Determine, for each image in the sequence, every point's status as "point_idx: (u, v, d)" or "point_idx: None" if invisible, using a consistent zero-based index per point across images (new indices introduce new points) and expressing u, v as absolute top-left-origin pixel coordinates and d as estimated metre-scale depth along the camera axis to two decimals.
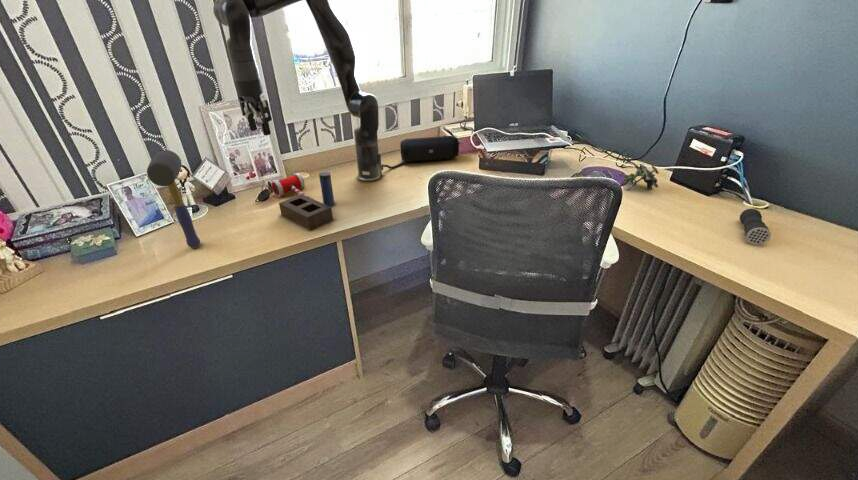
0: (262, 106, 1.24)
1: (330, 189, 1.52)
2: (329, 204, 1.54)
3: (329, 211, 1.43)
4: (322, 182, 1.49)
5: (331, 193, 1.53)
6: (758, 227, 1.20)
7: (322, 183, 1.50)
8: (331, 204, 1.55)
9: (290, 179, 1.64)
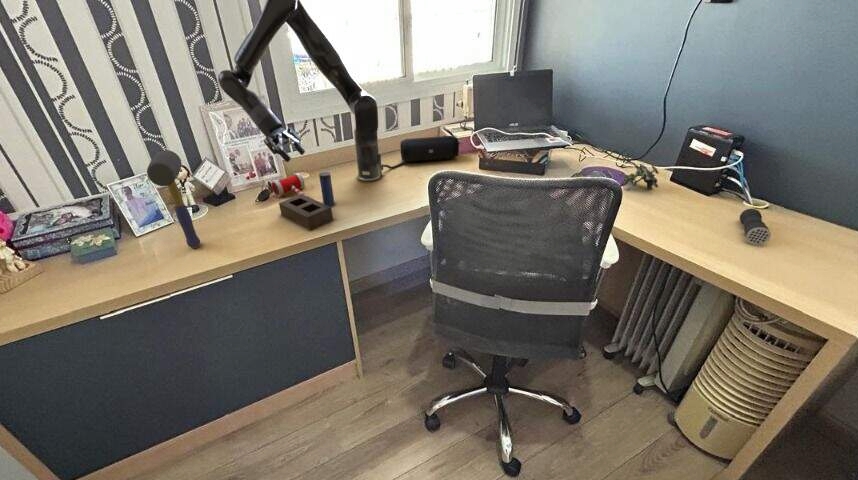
0: (265, 143, 1.45)
1: (330, 189, 1.52)
2: (329, 204, 1.54)
3: (329, 211, 1.43)
4: (322, 182, 1.49)
5: (331, 193, 1.53)
6: (758, 227, 1.20)
7: (322, 183, 1.50)
8: (331, 204, 1.55)
9: (290, 179, 1.64)
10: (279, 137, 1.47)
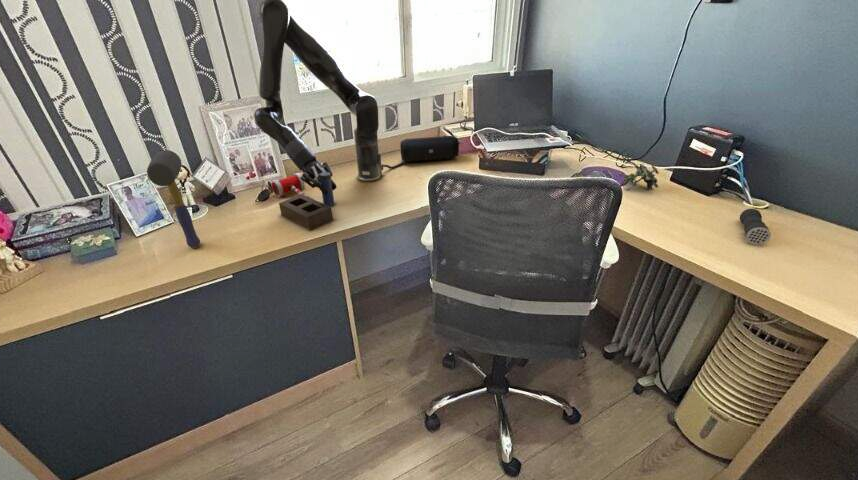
0: (303, 180, 1.47)
1: (330, 189, 1.52)
2: (329, 204, 1.54)
3: (329, 211, 1.43)
4: (322, 182, 1.49)
5: (331, 193, 1.53)
6: (758, 227, 1.20)
7: (322, 183, 1.50)
8: (331, 204, 1.55)
9: (290, 179, 1.64)
10: (314, 171, 1.49)
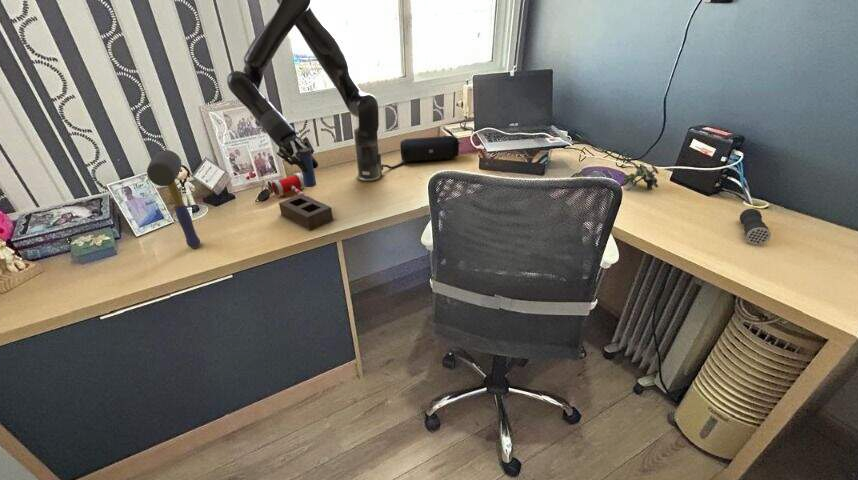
0: (280, 156, 1.32)
1: (311, 167, 1.36)
2: (310, 184, 1.39)
3: (329, 211, 1.43)
4: (302, 159, 1.34)
5: (312, 172, 1.37)
6: (758, 227, 1.20)
7: (302, 160, 1.34)
8: (312, 184, 1.39)
9: (290, 179, 1.64)
10: (293, 146, 1.33)
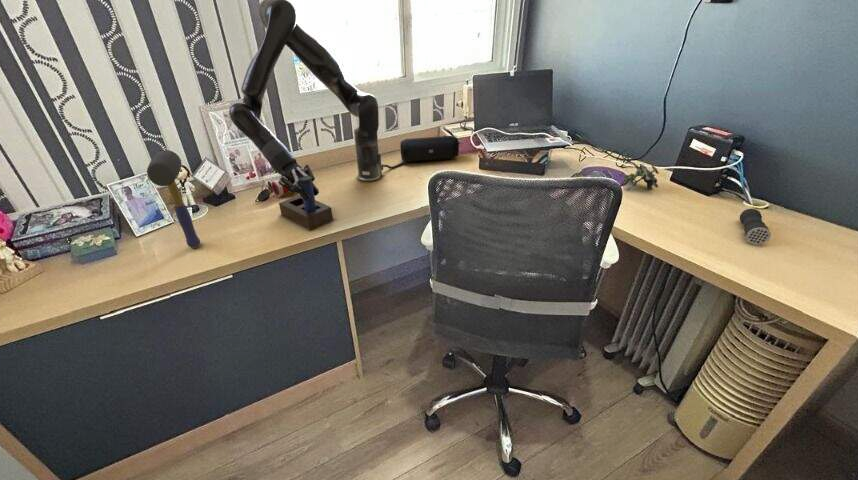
0: (282, 184, 1.35)
1: (312, 194, 1.39)
2: (311, 211, 1.42)
3: (329, 211, 1.43)
4: (303, 187, 1.37)
5: (313, 199, 1.40)
6: (758, 227, 1.20)
7: (303, 188, 1.37)
8: None
9: None
10: (294, 175, 1.36)
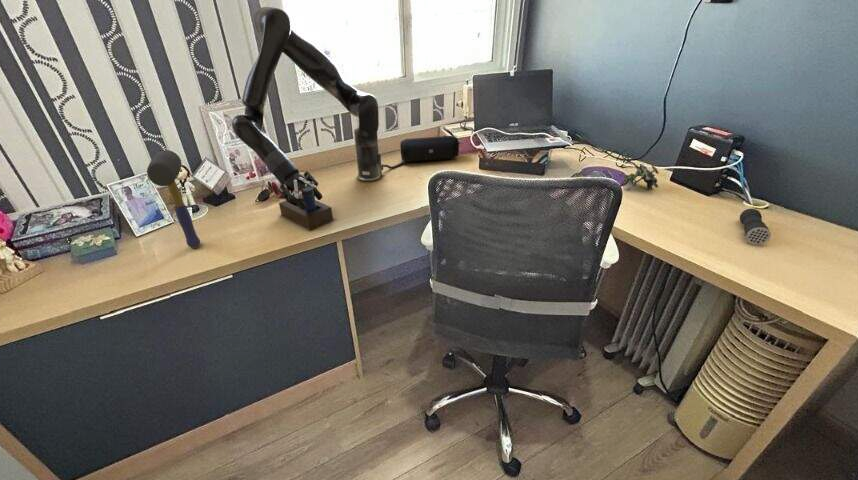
0: (280, 192, 1.36)
1: (313, 205, 1.41)
2: None
3: (329, 211, 1.43)
4: (304, 198, 1.39)
5: (314, 209, 1.42)
6: (758, 227, 1.20)
7: (304, 199, 1.39)
8: None
9: None
10: (294, 184, 1.38)
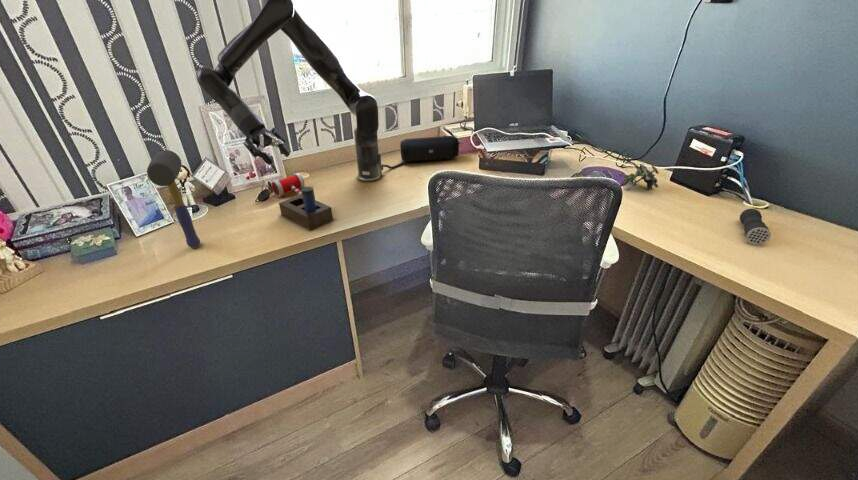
0: (245, 145, 1.35)
1: (313, 205, 1.41)
2: None
3: (329, 211, 1.43)
4: (304, 198, 1.39)
5: (314, 209, 1.42)
6: (758, 227, 1.20)
7: (304, 199, 1.39)
8: None
9: (290, 179, 1.64)
10: (260, 139, 1.37)
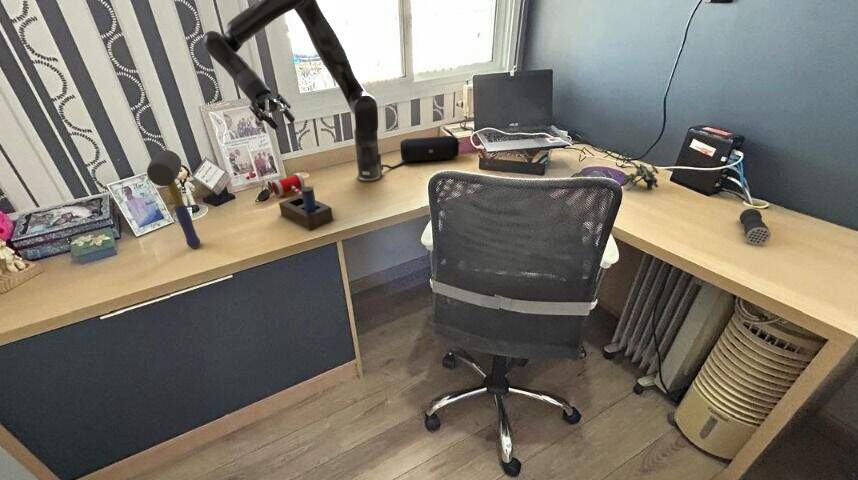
0: (251, 109, 1.37)
1: (313, 205, 1.41)
2: None
3: (329, 211, 1.43)
4: (304, 198, 1.39)
5: (314, 209, 1.42)
6: (758, 227, 1.20)
7: (304, 199, 1.39)
8: None
9: (290, 179, 1.64)
10: (266, 103, 1.39)
